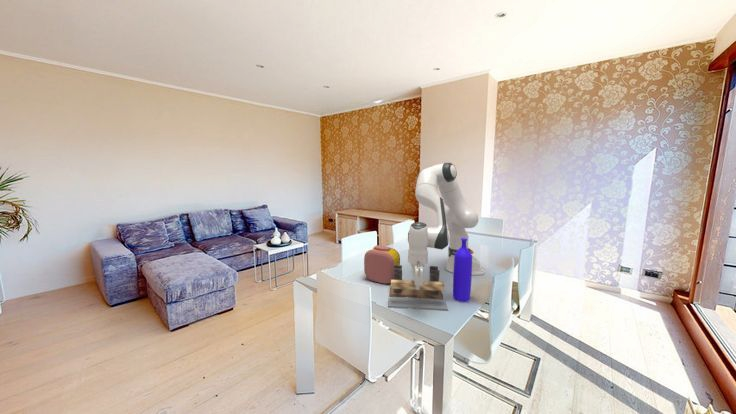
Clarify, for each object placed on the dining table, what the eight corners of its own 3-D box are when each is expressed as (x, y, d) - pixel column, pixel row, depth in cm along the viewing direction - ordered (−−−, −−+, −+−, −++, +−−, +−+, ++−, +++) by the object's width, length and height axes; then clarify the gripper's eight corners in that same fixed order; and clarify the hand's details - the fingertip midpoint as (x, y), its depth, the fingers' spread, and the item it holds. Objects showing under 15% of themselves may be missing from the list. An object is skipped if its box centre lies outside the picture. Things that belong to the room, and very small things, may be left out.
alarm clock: (400, 279, 157) (401, 246, 154) (392, 286, 147) (393, 252, 144) (372, 273, 166) (372, 242, 163) (363, 280, 156) (362, 247, 153)
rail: (442, 288, 127) (443, 281, 127) (443, 290, 124) (444, 284, 124) (391, 285, 130) (391, 279, 130) (390, 288, 127) (390, 282, 127)
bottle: (449, 294, 138) (452, 236, 134) (465, 293, 139) (468, 236, 134) (456, 302, 130) (459, 241, 125) (473, 302, 131) (476, 240, 126)
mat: (445, 301, 131) (445, 300, 131) (447, 310, 123) (448, 308, 123) (388, 299, 134) (388, 297, 134) (387, 307, 126) (387, 305, 126)
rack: (440, 291, 141) (441, 265, 139) (443, 299, 133) (444, 271, 131) (390, 289, 144) (390, 264, 142) (389, 296, 136) (389, 269, 134)
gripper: (427, 266, 115) (426, 298, 117) (422, 251, 135) (422, 278, 137) (411, 266, 115) (411, 297, 117) (410, 251, 135) (409, 277, 137)
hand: (417, 287), depth 127 cm, fingers closed on rail, 3 cm apart
